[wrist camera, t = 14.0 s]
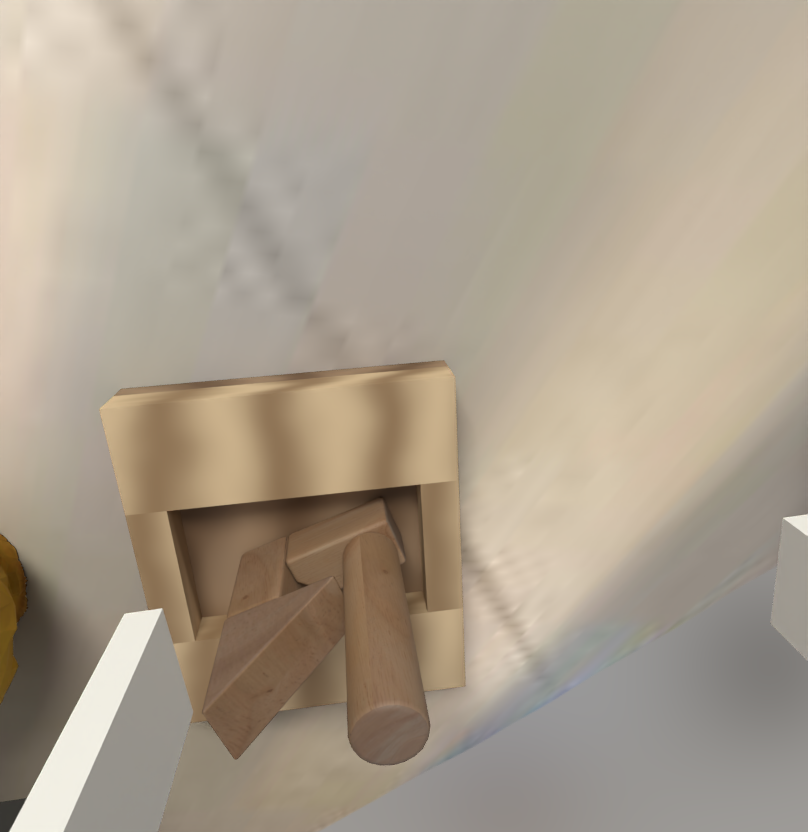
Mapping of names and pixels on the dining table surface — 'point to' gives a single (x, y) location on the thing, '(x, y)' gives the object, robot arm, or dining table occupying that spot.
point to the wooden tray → (290, 497)
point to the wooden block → (323, 635)
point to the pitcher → (9, 610)
